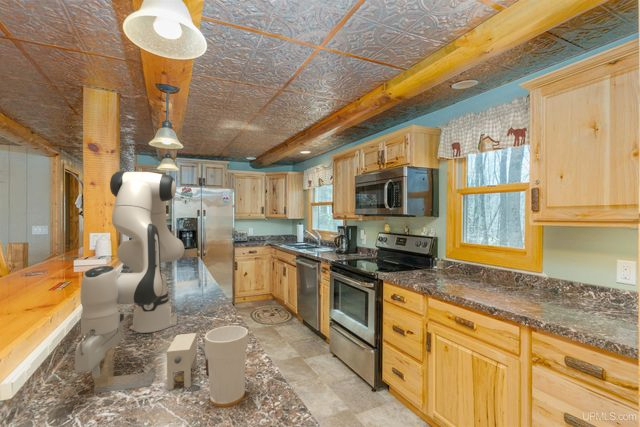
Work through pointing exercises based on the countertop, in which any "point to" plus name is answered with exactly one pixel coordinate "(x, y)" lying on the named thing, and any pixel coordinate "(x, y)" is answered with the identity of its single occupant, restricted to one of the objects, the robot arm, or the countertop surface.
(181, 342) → the notched cream block
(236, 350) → the cup
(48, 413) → the countertop surface
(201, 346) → the kitchen cleaver
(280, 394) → the countertop surface
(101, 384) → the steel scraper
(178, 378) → the brass token
